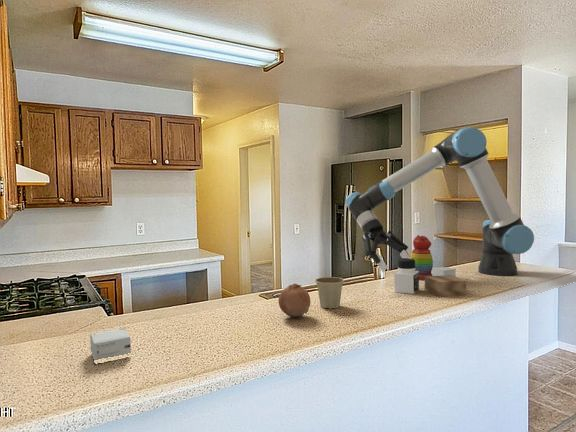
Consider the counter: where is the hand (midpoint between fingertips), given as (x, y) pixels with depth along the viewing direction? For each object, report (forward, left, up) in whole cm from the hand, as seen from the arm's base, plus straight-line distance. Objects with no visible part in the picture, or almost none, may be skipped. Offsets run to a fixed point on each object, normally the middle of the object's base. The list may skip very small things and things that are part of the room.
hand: (398, 267), depth 150 cm
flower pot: (+30, +16, -9) cm, 35 cm away
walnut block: (-14, +8, -8) cm, 18 cm away
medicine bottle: (-2, +3, -9) cm, 9 cm away
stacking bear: (-18, -17, -9) cm, 26 cm away
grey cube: (-21, -5, -8) cm, 23 cm away
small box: (+89, +44, -9) cm, 100 cm away
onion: (+43, +25, -9) cm, 50 cm away
